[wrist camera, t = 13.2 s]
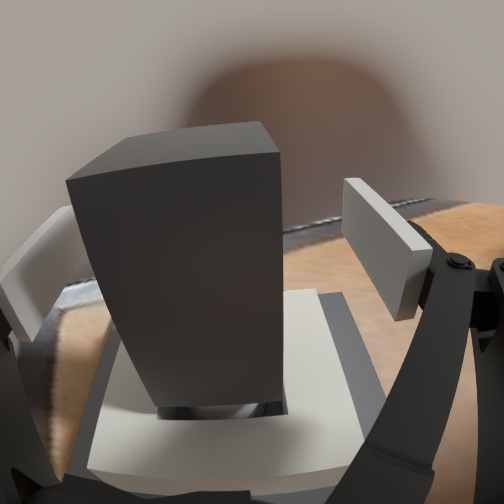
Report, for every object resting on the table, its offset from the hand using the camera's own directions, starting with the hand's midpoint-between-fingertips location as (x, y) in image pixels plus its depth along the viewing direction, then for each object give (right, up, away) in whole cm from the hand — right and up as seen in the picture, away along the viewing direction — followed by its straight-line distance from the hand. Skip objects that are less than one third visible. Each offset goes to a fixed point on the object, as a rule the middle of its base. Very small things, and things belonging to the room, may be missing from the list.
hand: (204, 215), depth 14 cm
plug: (+1, -10, +2) cm, 10 cm away
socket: (+1, -11, +3) cm, 11 cm away
